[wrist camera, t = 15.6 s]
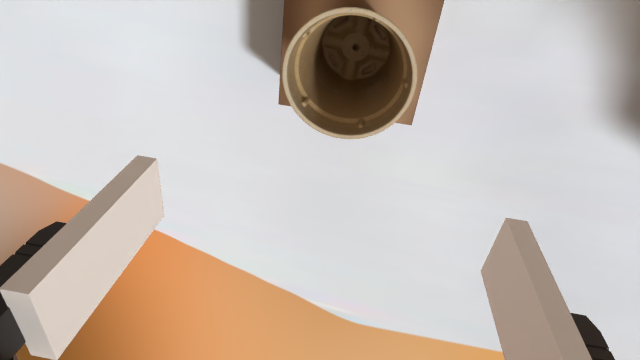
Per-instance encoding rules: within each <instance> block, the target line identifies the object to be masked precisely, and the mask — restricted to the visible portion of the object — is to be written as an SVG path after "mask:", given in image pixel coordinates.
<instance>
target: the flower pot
mask: <svg viewBox="0 0 640 360" xmlns="http://www.w3.org/2000/svg"><path fill="white" fill-rule="evenodd" d="M343 16H346V17H347V20H346V21H344V22H343V23H341V24H340V25H338V26H337V27H335V26H334V23H335V22H336V20H337V19H339V18H341V17H343ZM376 25H378V26H379V27H380V28H381V29H382V31H383V32H384V34H385V38H384V39H382V38H380V35H379V33H378V31H377V30H376V28H375V26H376ZM354 45H357V46H358V48H357V50H354V49H353V46H354ZM330 54H331V55H332V56H333V58H335V61H336V63H337V65H336V66H335V65H334V64H333V63H332V61H331V59H330ZM372 64H374V65H375V69H374V70H373V71H370V72H368V73H363V70H364V69H365V68H367V67H369V66H371V65H372ZM282 79H283V86H284V90H285V93H286V96H287V99H288V101H289V103H290V105H291V106H292V108H293V110H294V111H295V112H296V113H297V114H298V115H299V117H300V118H301V119H302V120H303V121H304V122H305V123H307V124H308V125H309V126H310V127H312V128H314V129H315V130H317V131H319V132H321V133H323V134H326V135H329V136H332V137H336V138H343V139H359V138H364V137H369V136H372V135H375V134H377V133H380V132H382V131H383V130H385V129H386V128H388V127H390V126H391V125H392V124H394V123H395V122H396V121H397V120H398V119H399V118H400V117H401V116H402V114H403V113H404V112H405V111H406V109H407V108H408V106H409V104H410V103H411V101H412V98H413V95H414V93H415V89H416V84H417V64H416V59H415V55H414V53H413V50H412V47H411V45H410V43H409V41H408V39H407V38H406V37H405V35H404V34H403V32H402V31H401V30H400V29H399V28H398V27H397V26H396V25H395V24H394V23H393V22H392V21H390V20H389V19H387V18H386V17H384V16H382V15H381V14H379V13H377V12H374V11H371V10H368V9H364V8H358V7H341V8H336V9H332V10H328V11H325V12H323V13H321V14H319V15H317V16H315V17H313V18H312V19H311V20H309V21H308V22H307V23H305V24H304V25H303V26H302V27H301V28H300V29H299V30H298V32H297V33H296V34H295V35H294V37H293V38H292V40H291V42H290V44H289V46H288V48H287V50H286V53H285V56H284V61H283V68H282Z"/></svg>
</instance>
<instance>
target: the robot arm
mask: <svg viewBox="0 0 640 360" xmlns="http://www.w3.org/2000/svg"><path fill="white" fill-rule="evenodd" d="M163 217H164V208H163V200H162V192H161V185H160V177H159V170H158V162H157V159H156V158H150V157H144V156H137V157H135V158H134V159H133V160H132V161H131V162H130V163H129V164H128V165H127V166H126V167H125V168H124V169H123V170H122V171H121V172H120V173H119V174H118V175H117V176H116V177H115V178H114V179H113V180H112V181H110V182H109V183H108V184H107V185H106V186H105V187H104V188H103V189H102V190H101V191H100V192H99V193H98V194H97V195H96V196H95V197H94V198H93V199H92V200H91V201H90V202H89V203H88V204H87V205H86V206H84V208H83V209H81V210H80V211H79V213H77V214H76V215H75V216H74V217H73V218H72V219H71V220H70V221H69V222H68V223H61V222H55V223H53V224H51V225H49V226H47V227H45V228H43V229H41V230H39V231H38V232H37V233H36V234H35V235H34V236H33V237H31V238H30V239H29V240H28V241H27V242H26V245H23V246H21V247H20V248H19V249H18V250H17V251H16V253H15V255H12V256H10V257H9V258H8V259H7V260H6V261H5V262H4V263H3V264H2V265H1V266H0V360H18V359H17V356H16V353H17V351H18V350H19V349H20V348H21V347H22V346H23V344H24V343H26V345H27V347H28V350H29V352H30V354H31V355H34V356H39V357H44V358H49V359H54V360H57V359H58V358H59V357H60V356H61V354H62V353H63V351H64V350H65V349H66V347H67V346H68V345H69V343H70V342H71V341H72V339H73V338H74V337H75V335H76V334H77V332H78V331H79V330H80V328H81V327H82V326H83V324H84V323H85V322H86V320H87V319H88V318H89V316H90V315H91V314H92V312H93V311H94V310H95V308H96V307H97V305H98V304H99V303H100V302H101V300H102V299H103V297H104V296H105V295H106V293H107V292H108V291H109V289H110V288H111V287H112V285H113V284H114V283H115V281H116V280H117V279H118V277H119V276H120V275H121V273H122V272H123V271H124V269H125V268H126V266H127V265H128V264H129V262H130V261H131V260H132V258H133V257H134V256H135V254H136V253H137V251H138V250H139V249H140V248H141V246H142V245H143V244H144V242H145V241H146V240H147V238H148V237H149V235H150V234H151V233H152V231H153V230H154V229H155V227H156V226H157V225H158V223H159V222H160V221H161V219H162V218H163ZM481 274H482V277H483V281H484V285H485V288H486V292H487V296H488V299H489V303H490V307H491V310H492V314H493V318H494V321H495V325H496V329H497V333H498V336H499V340H500V344H501V347H502V351H503V354H504V358H505V360H615V359H614V357H613V355H612V353H611V352H610V351H609V347H608V345H607V343H606V342H605V340H604V338H603V336H602V334H601V332H600V331H599V330H598V329H597V327H596V326H595V325H594V324H593V323H592V322H591V321H590V320H589V319H588V318H587V317H586V316H585V315H579V314H573V313H570V311H569V309H568V307H567V305H566V303H565V301H564V299H563V296H562V294H561V292H560V290H559V288H558V286H557V284H556V282H555V279H554V277H553V275H552V273H551V271H550V269H549V267H548V264H547V262H546V260H545V258H544V256H543V254H542V252H541V250H540V247H539V245H538V243H537V241H536V239H535V237H534V235H533V232H532V230H531V228H530V226H529V224H528V222H527V221H522V220H516V219H510V218H506V219H505V221H504V223H503V225H502V227H501V229H500V231H499V234H498V236H497V238H496V240H495V242H494V244H493V246H492V248H491V250H490V253H489V255H488V257H487V259H486V261H485V263H484V265H483V267H482V270H481Z"/></svg>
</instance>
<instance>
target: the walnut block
mask: <svg viewBox="0 0 640 360" xmlns="http://www.w3.org/2000/svg"><path fill="white" fill-rule="evenodd" d="M443 3H444V0H284V18H283V35H282V53H281V70H280V88H279V104H280V105H287V106H291V105H290V103H289V101H288V99H287V96H286V93H285V90H284V86H283V79H282V68H283V61H284V56H285V53H286V50H287V48H288V46H289V44H290V42H291V40H292V38H293V37H294V35H295V34H296V33H297V32H298V30H299V29H300V28H301V27H302V26H303V25H304V24H305V23H307V22H308V21H309V20H311V19H312V18H313V17H315V16H317V15H319V14H321V13H323V12H325V11H328V10H332V9H336V8H341V7H358V8H364V9H368V10H371V11H374V12H377V13H379V14H381V15H382V16H384V17H386V18H387V19H389V20H390V21H392V22H393V23H394V24H395V25H396V26H397V27H398V28H399V29H400V30H401V31H402V32H403V34H404V35H405V37H406V38H407V39H408V41H409V43H410V45H411V47H412V50H413V53H414V55H415V59H416V64H417V84H416V89H415V93H414V95H413V98H412V101H411V103H410V104H409V106H408V108H407V109H406V111H405V112H404V113H403V114H402V116H401V117H400V118H399V119H398V120H397V121H396V122H395V123H401V124H407V125H412V122H413V118H414V114H415V110H416V106H417V103H418V99H419V95H420V91H421V87H422V84H423V80H424V76H425V72H426V68H427V64H428V61H429V57H430V53H431V49H432V45H433V42H434V38H435V34H436V30H437V26H438V23H439V19H440V15H441V11H442V7H443ZM346 20H347V17H346V16H343V17H341V18H339V19H337V20H336V22H335V23H334V26H335V27H337V26H338V25H340V24H341V23H343V22H344V21H346ZM375 28H376V30H377V31H378V33H379V35H380V38H382V39H384V38H385V34H384V32H383V31H382V29H381V28H380V27H379V26H378V25H376V26H375ZM357 48H358V46H357V45H354V46H353V49H354V50H357ZM330 59H331V61H332V63H333V64H334V65H335V66H336V65H337V63H336V61H335V58H333V56H332V55H331V54H330ZM374 69H375V65H374V64H372V65H371V66H369V67H367V68H365V69H364V70H363V73H368V72H370V71H373V70H374Z"/></svg>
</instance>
